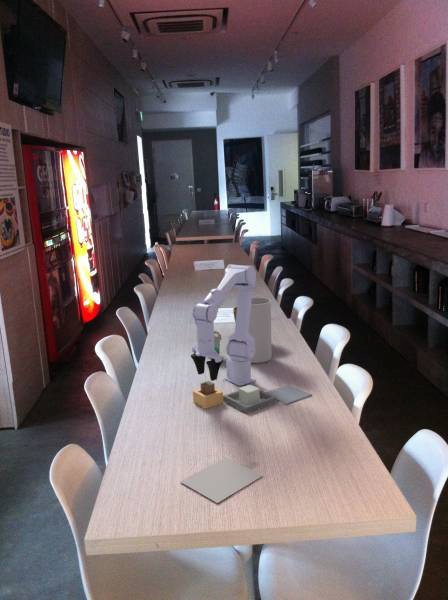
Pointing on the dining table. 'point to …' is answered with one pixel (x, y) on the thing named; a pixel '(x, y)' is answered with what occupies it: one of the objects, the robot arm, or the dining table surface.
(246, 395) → the block
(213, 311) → the robot arm
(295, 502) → the dining table surface
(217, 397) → the socket
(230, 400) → the grey square frame
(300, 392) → the slate mat
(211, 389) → the rod
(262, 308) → the cylinder vase
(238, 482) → the grey square panel
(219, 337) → the food container
